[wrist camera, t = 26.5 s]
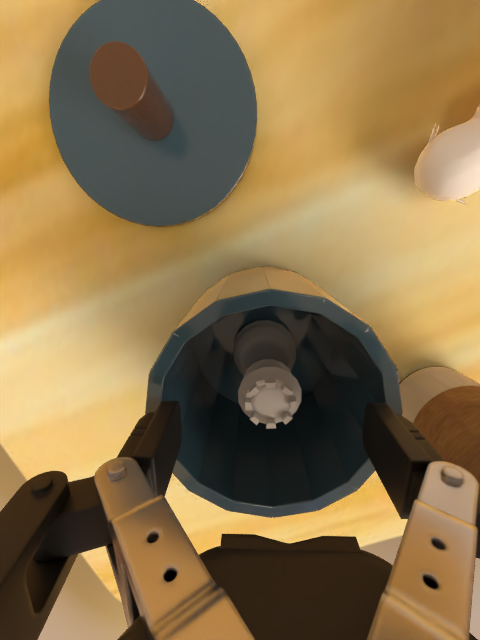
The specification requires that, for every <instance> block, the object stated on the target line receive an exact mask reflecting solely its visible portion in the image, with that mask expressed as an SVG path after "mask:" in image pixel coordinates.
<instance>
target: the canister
mask: <svg viewBox="0 0 480 640" xmlns="http://www.w3.org/2000/svg"><path fill="white" fill-rule="evenodd" d="M264 320H270V321H273V322H276V323H279V324H281V325H283V326H284V327H285V328H286V329H287V330H288V331H289V332H290V333H291V335H292V337H293V340H294V342H295V347H296V360H295V363H294V365H293V367H292V369H291V374H292V375H293V376H294V377H295V378H296V379H297V381H298V383H299V385H300V388H301V403H300V405H299V407H298V409H297V411H296V412H295V413H294V414H293V415H292V418H293V419H292V420H290V421H289V422H288V423H287V424H286V425H285V424H284V422H283V421H281V422H279V423H276V428H269V429H266V424H264V423H261V422H259V423H258V424H257V425H256V424H255V423H253V422H252V421H251V420H250V417H249V416H248V415H246V414H245V413H244V412H243V410H242V408H241V406H240V404H239V402H238V390H239V387H240V385H241V382H242V380H243V377H244V376H243V375H242V374H241V373H240V372H239V370H238V368H237V366H236V364H235V362H234V348H233V345H234V342H235V340H236V337H237V334H238V333H239V332H240V331H241V330H242V329H243V328H244V327H245V326H246V325H249V324H251V323H253V322H256V321H264ZM161 401H179V403H180V412H181V426H182V442H181V447H180V450H179V453H178V456H177V460H176V463H175V466H174V469H173V472H172V473H173V474H174V475H175V476H176V477H177V478H178V479H179V481H180V482H181V483H182V484H183V485H184V486H185V487H186V488H187V489H188V490H189V491H190V492H192V493H194V494H196V495H198V496H200V497H202V498H204V499H206V500H208V501H209V502H211V503H213V504H215V505H217V506H219V507H221V508H223V509H225V510H227V511H228V510H229V511H232V512H238V513H244V514H251V515H257V516H264V517H270V518H272V517H274V518H275V517H282V516H288V515H294V514H301V513H307V512H313V511H317V510H318V511H319V510H321V509H323V508H325V507H326V506H328V505H330V504H332V503H334V502H336V501H338V500H340V499H342V498H344V497H346V496H348V495H350V494H351V493H353V492H355V491H357V489H359V488H360V487H361V486H362V485H363V484H364V482H365V481H366V480H367V479H368V478H369V477H370V476H371V475H372V474H373V472H374V471H375V468H374V466H373V464H372V462H371V460H370V459H369V457H368V455H367V453H366V451H365V449H364V445H363V438H362V435H363V426H364V417H365V408H366V404H367V403H387V404H388V405H389V406H390V407H391V409H392V410H393V411H394V413H395V414H396V415H402V414H403V412H402V403H401V394H400V385H399V377H398V369H397V368H396V365H395V363H394V362H393V360H392V359H391V357H390V356H389V354H388V352H387V351H386V349H385V348H384V346H383V345H382V343H381V342H380V340H379V338H378V337H377V335H376V334H375V332H374V331H373V329H372V328H371V327H370V326H369V325H368V324H367V323H366V322H364V321H363V320H362V319H360V318H359V317H358V316H357V315H355V314H354V313H353V312H351V311H350V310H349V309H347V308H346V307H345V306H344V305H342V304H341V303H340V302H338V301H337V300H336V299H334V298H333V297H332V296H330V295H329V294H328V293H327V292H325V291H324V290H323V289H321V288H320V287H318V286H317V285H315V284H313V283H312V282H310V281H309V280H308V279H306V278H304V277H303V276H301V275H299V274H298V273H296V272H294V271H288V270H283V269H279V268H270V267H264V266H263V267H257V268H251V269H245V270H242V271H239V272H236V273H232V274H229V275H228V276H226V277H225V278H223V279H222V280H220V281H219V282H217V283H216V284H215V285H214V286H212V287H211V288H210V289H208V290H207V291H206V292H204V294H203V295H202V296H201V297H200V298H199V300H198V301H197V302H196V303H195V305H194V306H193V307H192V308H191V310H190V311H189V312H188V314H187V315H186V316H185V317H184V319H183V320H182V321H181V322H180V324H179V325H178V326H177V327H176V329H175V330H174V331H173V332H172V334H171V336H170V338H169V339H168V341H167V343H166V344H165V346H164V348H163V349H162V351H161V353H160V355H159V356H158V358H157V360H156V361H155V363H154V365H153V367H152V368H151V370H150V373H149V378H148V389H147V400H146V411H145V415H146V414H147V413H148V412H156V410H157V408H158V406H159V404H160V402H161Z"/></svg>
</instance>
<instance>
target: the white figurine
mask: <svg viewBox="0 0 480 640" xmlns="http://www.w3.org/2000/svg"><path fill="white" fill-rule="evenodd" d="M435 124H436V122H435ZM435 124H434V127H433V129H432V132H431V135H430V138H429V142H428V144H427V146H426V147H425V148H424V149H423V151H422V152H421V154H420V155H419V158H418V161H417V163H416V166H415V168H414V181H415V185H416V187H417V188H418V189H419V190H420V191H421V192H422V194H423V195H425V196H426V197H429V198H432V199H435V200H439V201H450V200H456V201H458V202H460V203H463V202H465V201H463V200H461V199H460V198H463V197H465V198H467V197H466V196H468V195H470V194H472V193H474V192H476V191H478V190H479V189H480V105H479V106H478V108H477V110H476V112H475V114H474V116H473V117H472V118H471V119H470V120H469V121H467V122H464V123H462V124H459V125H456V126H454V127H451V128H449V129H447V130H445V131H444V132H442V133H440V134H439V135H438V136H436V135H437V132H438V130H439V126H440V125H439V126H438V129H437V131H436V133H435V135H434V132H435V128H436V126H435ZM433 136H434V137H433ZM462 201H463V202H462ZM463 204H465V203H463Z"/></svg>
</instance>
